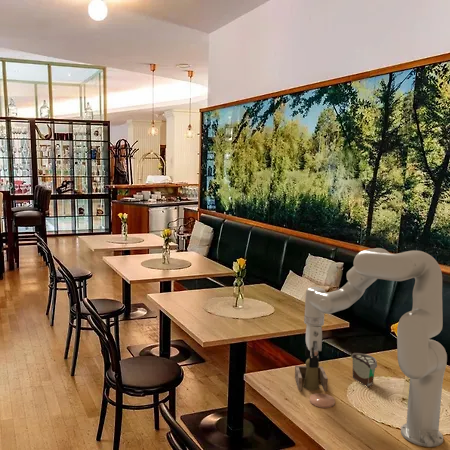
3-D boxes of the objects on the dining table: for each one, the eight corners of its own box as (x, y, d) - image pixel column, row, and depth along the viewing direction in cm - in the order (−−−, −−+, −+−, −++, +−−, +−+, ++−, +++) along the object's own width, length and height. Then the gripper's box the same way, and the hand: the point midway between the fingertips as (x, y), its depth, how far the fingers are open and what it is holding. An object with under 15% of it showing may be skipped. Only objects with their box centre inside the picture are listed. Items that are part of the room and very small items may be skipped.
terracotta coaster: (337, 408, 170) (337, 405, 170) (311, 407, 170) (311, 404, 170) (331, 396, 179) (332, 393, 179) (307, 395, 179) (308, 392, 179)
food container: (382, 386, 187) (384, 362, 186) (369, 389, 185) (371, 364, 184) (362, 374, 199) (364, 351, 197) (350, 376, 196) (351, 352, 195)
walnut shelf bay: (327, 391, 183) (327, 378, 182) (298, 390, 183) (299, 377, 182) (321, 378, 194) (322, 366, 193) (294, 377, 194) (295, 365, 193)
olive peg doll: (307, 390, 183) (309, 363, 181) (300, 384, 188) (302, 357, 187) (322, 389, 184) (323, 361, 183) (314, 382, 190) (316, 355, 189)
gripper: (328, 327, 175) (325, 372, 177) (319, 312, 192) (317, 353, 194) (307, 327, 175) (304, 371, 177) (301, 311, 192) (298, 352, 194)
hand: (311, 361), depth 185 cm, fingers open, 9 cm apart
